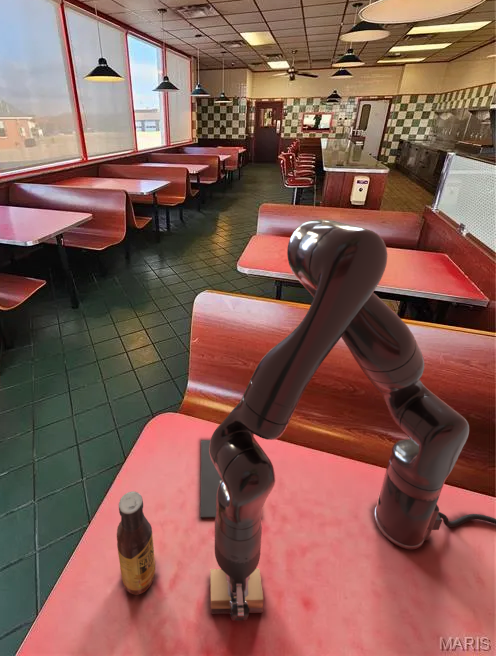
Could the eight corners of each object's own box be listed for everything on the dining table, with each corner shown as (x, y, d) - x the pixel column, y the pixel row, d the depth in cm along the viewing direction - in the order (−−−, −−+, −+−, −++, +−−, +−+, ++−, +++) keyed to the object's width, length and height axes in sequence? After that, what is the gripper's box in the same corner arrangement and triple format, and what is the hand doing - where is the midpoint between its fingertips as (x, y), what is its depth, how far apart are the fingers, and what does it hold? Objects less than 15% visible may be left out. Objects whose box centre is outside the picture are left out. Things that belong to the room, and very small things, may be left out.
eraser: (258, 581, 62) (259, 568, 60) (262, 612, 57) (263, 600, 56) (210, 581, 62) (210, 569, 60) (210, 613, 57) (210, 600, 56)
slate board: (248, 440, 91) (248, 439, 91) (259, 517, 72) (259, 516, 72) (201, 441, 91) (201, 440, 91) (200, 518, 72) (200, 516, 72)
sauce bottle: (149, 600, 59) (139, 529, 52) (116, 592, 60) (103, 521, 53) (160, 558, 65) (154, 489, 58) (131, 551, 66) (121, 483, 59)
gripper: (269, 590, 46) (262, 651, 53) (254, 490, 60) (251, 548, 66) (216, 590, 46) (216, 652, 53) (213, 491, 60) (213, 549, 66)
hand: (235, 594), depth 59 cm, fingers closed on eraser, 4 cm apart
